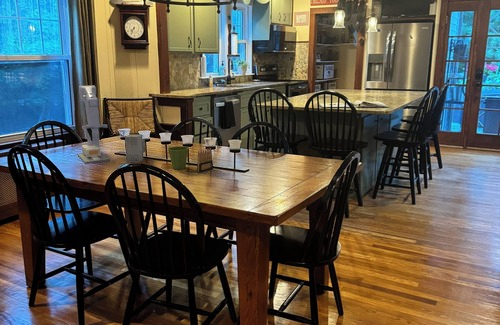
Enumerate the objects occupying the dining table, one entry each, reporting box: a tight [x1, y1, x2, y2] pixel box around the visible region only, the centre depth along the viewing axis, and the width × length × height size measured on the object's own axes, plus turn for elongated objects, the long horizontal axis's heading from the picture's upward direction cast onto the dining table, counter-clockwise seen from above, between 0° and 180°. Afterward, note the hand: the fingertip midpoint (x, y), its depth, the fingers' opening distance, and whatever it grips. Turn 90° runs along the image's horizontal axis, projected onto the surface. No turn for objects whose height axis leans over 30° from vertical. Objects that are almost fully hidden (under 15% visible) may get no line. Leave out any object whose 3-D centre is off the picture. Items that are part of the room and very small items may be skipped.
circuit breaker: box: [124, 133, 146, 163], centre depth 272 cm, size 8×14×15 cm, turn 174°
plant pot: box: [167, 145, 190, 170], centre depth 250 cm, size 12×12×11 cm
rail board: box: [77, 144, 111, 165], centre depth 277 cm, size 26×14×6 cm, turn 29°
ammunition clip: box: [196, 147, 214, 174], centre depth 244 cm, size 11×2×12 cm, turn 142°
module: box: [85, 147, 102, 157], centre depth 276 cm, size 5×8×4 cm, turn 119°
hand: (96, 140), depth 279 cm, fingers open, 4 cm apart
